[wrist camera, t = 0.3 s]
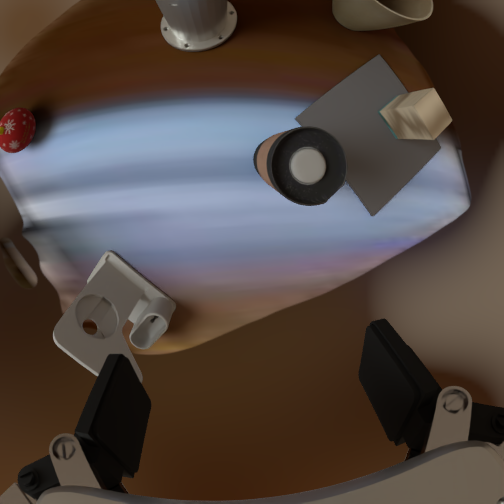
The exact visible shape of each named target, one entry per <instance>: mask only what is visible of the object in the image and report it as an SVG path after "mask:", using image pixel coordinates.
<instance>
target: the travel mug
mask: <svg viewBox="0 0 504 504" xmlns="http://www.w3.org/2000/svg"><path fill="white" fill-rule="evenodd" d="M253 160H254V166H255V169H256V171H257V172H258V174H259V175H260V176H261V177H262V179H263V180H264V181H265V182H266V183H267V184H268V185H270V186H271V187H272V188H274V189H275V190H276V191H278V192H279V193H280V194H281V195H283V196H284V197H285V198H287V199H288V200H290V201H292V202H294V203H297V204H300V205H306V206H314V205H320V204H324V203H326V202H327V201H328V199H329V198H330V197H331V196H333V195H334V194H335V193H336V192H337V191H338V190H339V189H340V188H341V187H342V186H343V185H344V183H345V180H346V177H347V169H348V164H347V158H346V154H345V151H344V149H343V147H342V145H341V144H340V143H339V141H338V140H337V139H336V138H335V137H334V136H333V135H332V134H330V133H329V132H327V131H325V130H323V129H320V128H317V127H311V126H305V127H298V128H295V129H291V130H288V131H285V132H282V133H278V134H275V135H273V136H271V137H269V138H268V139H266V140H265V141H263V142H262V143H261V144H260V145H259V146H258V147H257V149H256V151H255V153H254V159H253Z"/></svg>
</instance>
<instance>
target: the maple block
mask: <svg viewBox="0 0 504 504" xmlns="http://www.w3.org/2000/svg"><path fill="white" fill-rule="evenodd" d="M378 113H379V115H380V116H381V118H382V119H383V120H384V122H385V123H386V125H387V126H388V128H389V129H390V131H391V132H392V134H393V135H394V137H395V138H396V139H425V140H434V139H435V138H436V137H437V136H438V135H439V134H440V133H441V132H442V131H443V130H444V129H445V128H446V127H447V126H448V125H449V124H450V123H451V122H452V119H451V117H450V115H449V113H448V111H447V110H446V108H445V106H444V104H443V102H442V101H441V99H440V97H439V96H438V94H437V92H436V91H435V89H434V88H430V89H425V90H420V91H416V92H411V93H406V94H402V95H398V96H396V97H395V98H393V99H392V100H391V101H390V102H389V103H387V104H386V105H385V106H384V107H383V108H382V109H380V110H379V111H378Z"/></svg>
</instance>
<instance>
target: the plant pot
mask: <svg viewBox="0 0 504 504" xmlns="http://www.w3.org/2000/svg"><path fill="white" fill-rule="evenodd" d="M332 11H333V15H334V17H335V18H336V20H337V21H338V22H339V23H340V24H341V25H343V26H344V27H346V28H348V29H350V30H354V31H370V30H380V29H386V28H392V27H397V26H402V25H406V24H410V23H414V22H418V21H421V20H425V19H427V18H428V17H430V16H431V14H432V11H433V1H432V0H332Z"/></svg>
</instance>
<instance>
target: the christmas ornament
mask: <svg viewBox="0 0 504 504" xmlns="http://www.w3.org/2000/svg"><path fill="white" fill-rule="evenodd" d="M35 129H36V122H35V118H34V116H33V114H32V113H31V112H30V111H29V110H28V109H25V108H15V109H13V110H11V111H9V112H8V113H7V114H5V116H4V117H3V118H2V119H1V121H0V147H1V148H2V149H3V150H4V151H6V152H9V153H16V152H19V151H21V150H23V149H24V148H26V147H27V146H28V144H29V143H30V142H31V140H32V139H33V136H34V134H35Z"/></svg>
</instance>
